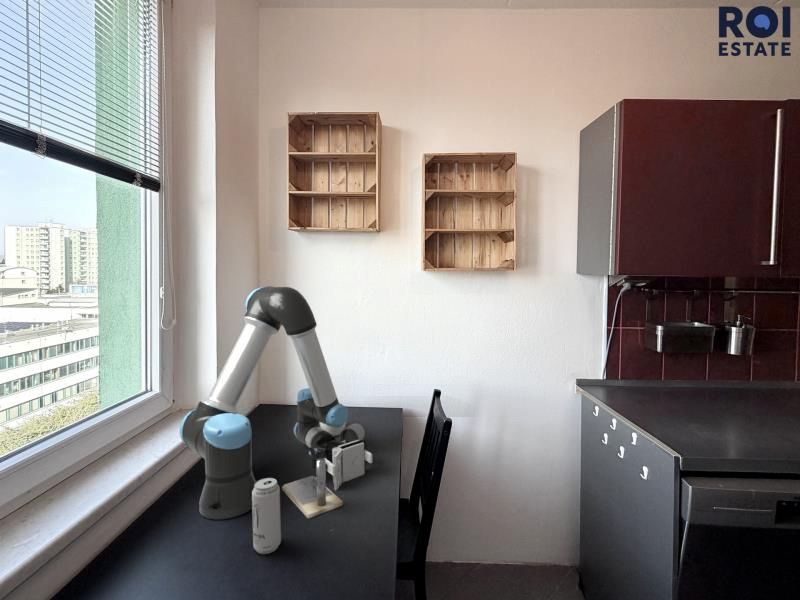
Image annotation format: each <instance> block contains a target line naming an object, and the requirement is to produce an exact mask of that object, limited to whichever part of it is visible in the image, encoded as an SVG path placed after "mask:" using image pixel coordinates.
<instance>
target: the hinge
mask: <svg viewBox="0 0 800 600" xmlns="http://www.w3.org/2000/svg"><path fill="white" fill-rule="evenodd" d="M363 440H364V439H363ZM363 440H355V441H352V442H349V443H346V444H343V445H340V446H338V447H336V448H333V449H332V454H331V455H332V456H331V458H332V464H333V465H334V466H335V475H334V476H333V475H332V483H333V489H334V491H336V490H337V489H338V490H339V488H340V487H339V486H341V485H342V484H343V483H345V481H346V482H348V481H351V480H353V479H356V478H359V477H361V476H363V475H365V473H366V472H367V471H366V460H364V450H365V444H366V441H365V440H364V441H363ZM341 483H342V484H341ZM338 490H337V491H338Z"/></svg>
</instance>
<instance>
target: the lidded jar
mask: <svg viewBox="0 0 800 600" xmlns="http://www.w3.org/2000/svg"><path fill="white" fill-rule="evenodd" d="M346 425H347V421H346V422H345V423H344V424H343V425H342V426H341V427H332V426H328V425H326V424H324V423H321V422H319V427H321V428H322V429H324V430H326V431H327V432H329V433H330V434H332V435H333V436H334V437H335V436H339V435H340V433H341V431H342V430H343V429H345V428H346Z"/></svg>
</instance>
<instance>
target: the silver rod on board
mask: <svg viewBox="0 0 800 600" xmlns="http://www.w3.org/2000/svg"><path fill="white" fill-rule="evenodd" d="M318 458H319V457H318ZM318 458H316V468H315V470H316V476H315V477H316V478H317V479H316V478H315V477H314V475H310V476H307V477H306V476H305V477H304V478H300V479H298V480H294V481H291V482H288V483H284V484H283V486H284V487H285V488H286V489H287V490H288V491H289V492H290V493H291V494H292V495H293V496H294V497H295V498H296V500H297V501H298V502H299V503H300V504H301V505H305V504H308V503H310V502H313V501H316V500H317V505H318V506H325V505H326V497H327V496H330V495H332V493H333V492H332V491H331V490H330V489H329V488H328V487H327V484H326V483H327V482H326V481H327V476H326V474H327V473H326V472H327V470H326V465H325V459H324V458H319V459H318ZM326 487H327V488H328V489H329V490H330V491H331V492H332V493H331V492H330V491H329V490H328V489H327V488H326Z"/></svg>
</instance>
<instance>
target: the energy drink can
mask: <svg viewBox="0 0 800 600" xmlns="http://www.w3.org/2000/svg"><path fill="white" fill-rule="evenodd" d="M254 486H255V487H254V489H253V491H252V509H251V510H252V511H251V513H252V540H253V541H252V542H253V543H252V545H253V546H252V547H253V549H254V550H255V551H256V552H257V553H258V554H260V555H267V554H270V553H273V552H276V550H277V549H278V548H279V545H280V544H281V542H282V527H281V522H282V521H281V520H282V519H281V490H280V489H281V487H280V485H279V484H278V481H277V479H275V478H273V477H266V478H261V479H259V480H256V483H255V485H254Z"/></svg>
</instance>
